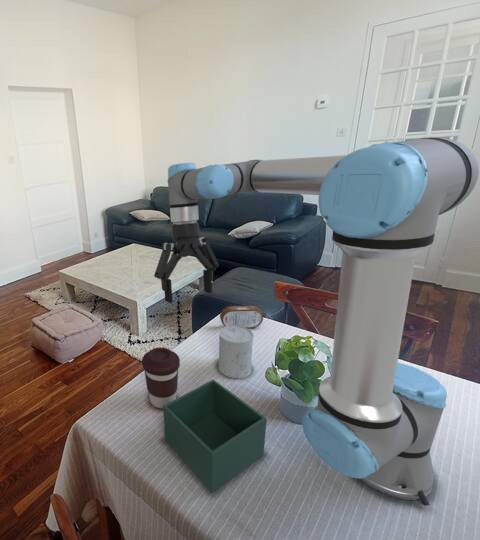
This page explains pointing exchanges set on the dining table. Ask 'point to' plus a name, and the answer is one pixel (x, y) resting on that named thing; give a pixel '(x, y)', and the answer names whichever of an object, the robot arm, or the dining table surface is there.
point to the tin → (242, 316)
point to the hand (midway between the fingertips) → (189, 296)
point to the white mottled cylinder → (235, 351)
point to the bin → (214, 433)
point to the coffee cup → (161, 375)
